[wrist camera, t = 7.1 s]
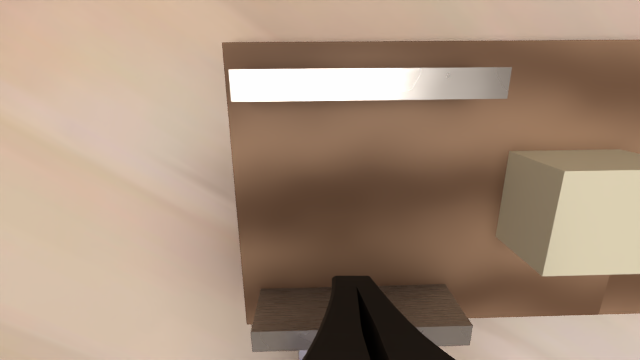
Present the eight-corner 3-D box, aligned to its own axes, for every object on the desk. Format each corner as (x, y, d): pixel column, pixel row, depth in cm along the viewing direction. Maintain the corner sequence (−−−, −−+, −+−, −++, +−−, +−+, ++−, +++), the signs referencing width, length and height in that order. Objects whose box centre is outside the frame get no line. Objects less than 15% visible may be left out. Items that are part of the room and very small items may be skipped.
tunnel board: (693, 286, 24) (737, 310, 21) (253, 298, 23) (246, 324, 20) (784, 43, 19) (853, 38, 16) (233, 47, 18) (222, 42, 16)
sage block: (597, 234, 19) (669, 273, 15) (495, 236, 19) (542, 276, 15) (620, 149, 18) (705, 168, 14) (509, 151, 18) (564, 171, 14)
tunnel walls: (443, 301, 20) (469, 345, 17) (262, 305, 20) (252, 351, 17) (470, 69, 16) (511, 67, 13) (245, 71, 16) (228, 69, 13)
